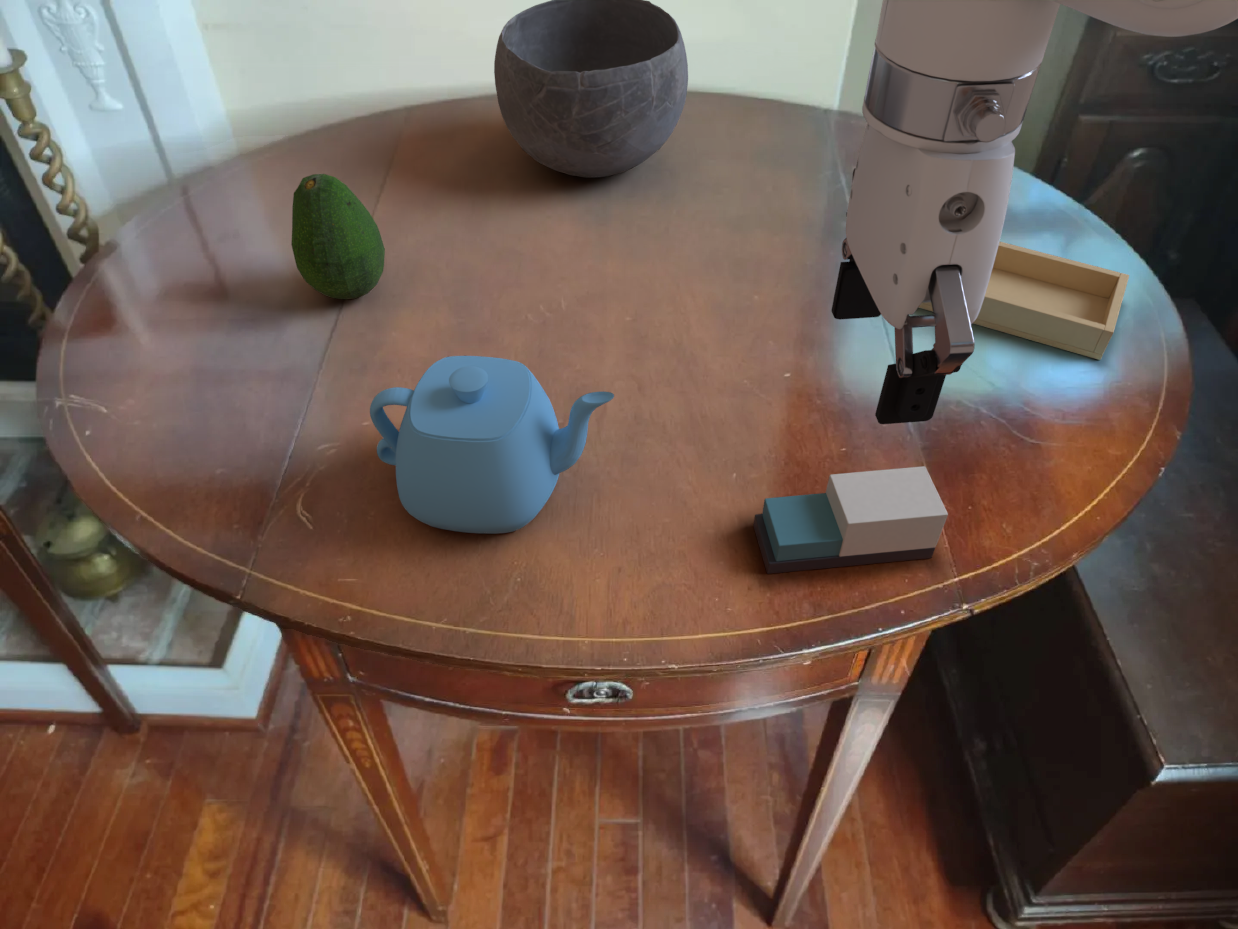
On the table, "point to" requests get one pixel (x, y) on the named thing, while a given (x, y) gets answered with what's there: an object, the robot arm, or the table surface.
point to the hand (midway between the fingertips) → (877, 364)
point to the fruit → (335, 239)
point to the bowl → (591, 83)
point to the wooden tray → (1051, 300)
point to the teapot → (479, 443)
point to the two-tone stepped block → (853, 522)
